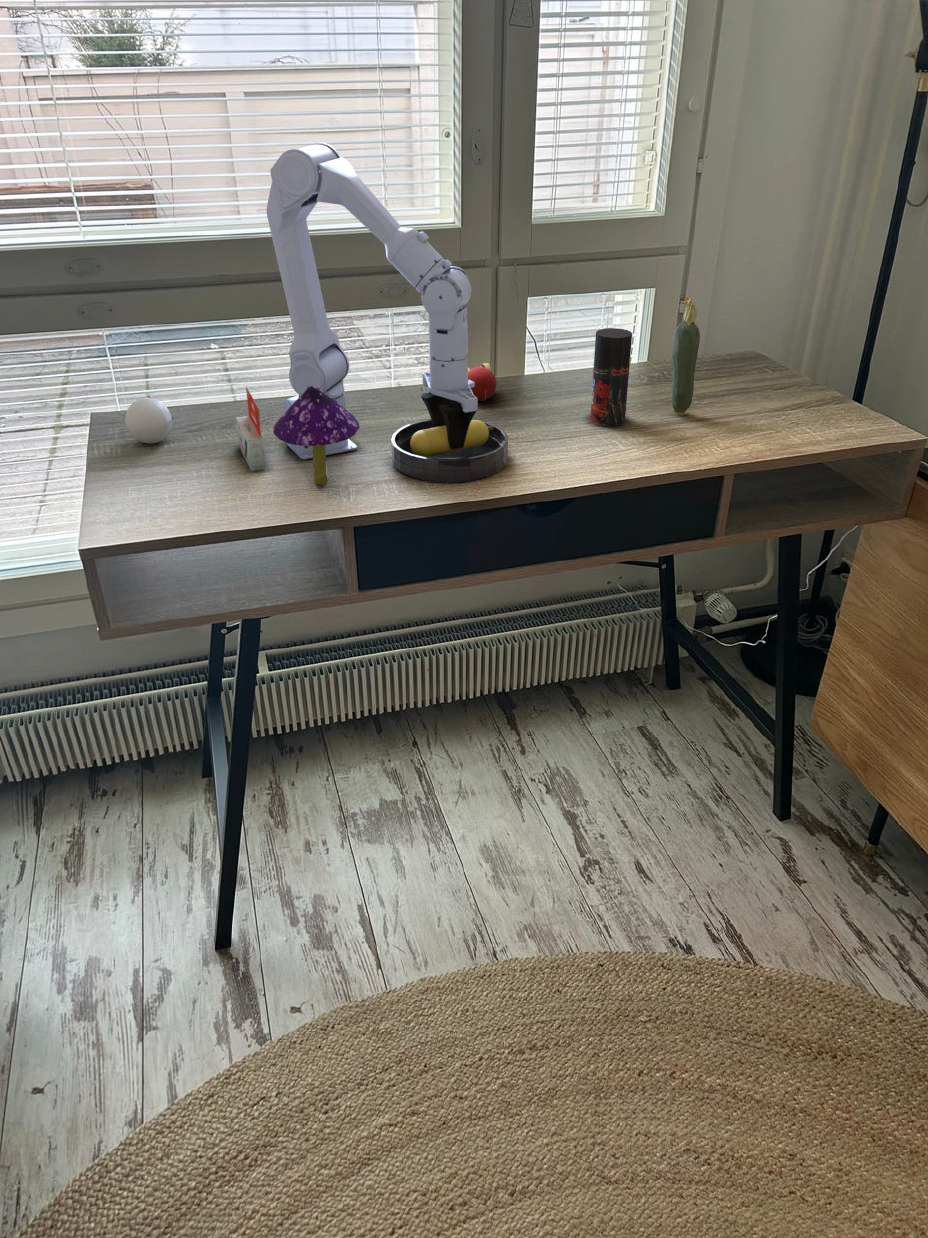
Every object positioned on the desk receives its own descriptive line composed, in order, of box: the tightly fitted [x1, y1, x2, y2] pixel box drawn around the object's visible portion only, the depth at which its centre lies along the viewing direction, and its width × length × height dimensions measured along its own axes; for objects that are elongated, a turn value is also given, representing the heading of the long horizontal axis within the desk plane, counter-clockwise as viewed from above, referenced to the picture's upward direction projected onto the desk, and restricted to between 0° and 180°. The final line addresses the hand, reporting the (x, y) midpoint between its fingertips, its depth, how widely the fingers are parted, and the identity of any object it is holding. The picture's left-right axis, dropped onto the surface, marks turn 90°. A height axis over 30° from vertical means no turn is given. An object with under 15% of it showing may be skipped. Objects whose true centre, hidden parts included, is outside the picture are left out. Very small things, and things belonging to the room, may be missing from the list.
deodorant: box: [589, 327, 633, 428], centre depth 161 cm, size 6×6×15 cm
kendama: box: [468, 362, 497, 402], centre depth 178 cm, size 8×6×18 cm
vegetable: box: [671, 296, 701, 416], centre depth 161 cm, size 4×4×20 cm
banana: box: [410, 419, 494, 457], centre depth 148 cm, size 14×4×4 cm, turn 118°
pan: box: [390, 418, 509, 484], centre depth 149 cm, size 18×18×4 cm
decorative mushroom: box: [272, 386, 361, 486], centre depth 139 cm, size 12×12×15 cm
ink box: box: [235, 387, 266, 472], centre depth 149 cm, size 2×11×10 cm, turn 21°
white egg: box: [124, 397, 174, 445], centre depth 157 cm, size 10×7×7 cm
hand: (449, 442), depth 149 cm, fingers closed on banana, 4 cm apart
